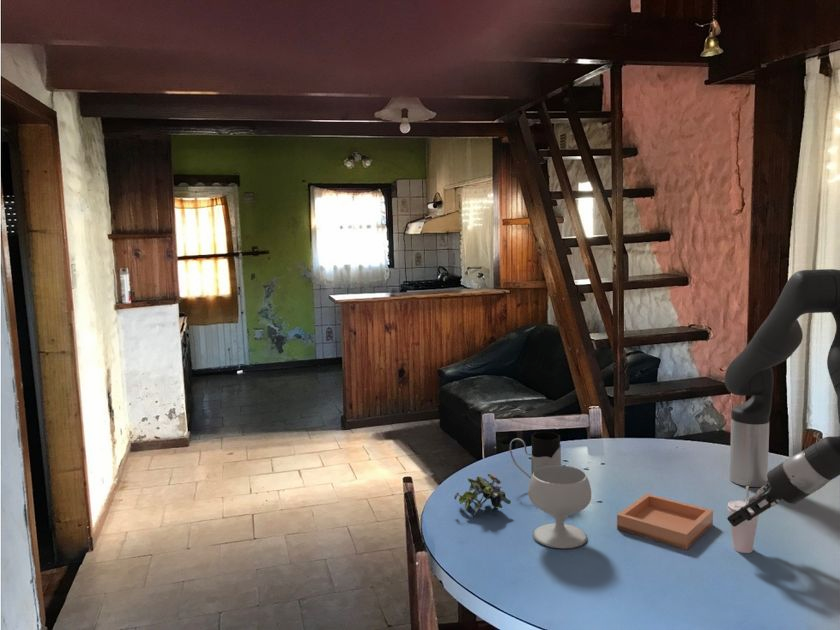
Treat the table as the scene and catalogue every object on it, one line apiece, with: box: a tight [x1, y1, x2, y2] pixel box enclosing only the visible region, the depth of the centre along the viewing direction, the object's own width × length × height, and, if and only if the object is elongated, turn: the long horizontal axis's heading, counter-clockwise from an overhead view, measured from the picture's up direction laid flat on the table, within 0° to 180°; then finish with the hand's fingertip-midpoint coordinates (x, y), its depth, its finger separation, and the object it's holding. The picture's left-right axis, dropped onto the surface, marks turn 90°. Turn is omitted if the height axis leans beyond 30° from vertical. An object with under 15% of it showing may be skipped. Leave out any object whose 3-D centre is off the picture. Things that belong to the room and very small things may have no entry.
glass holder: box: [509, 431, 562, 480], centre depth 176 cm, size 9×14×15 cm, turn 71°
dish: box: [616, 493, 714, 551], centre depth 151 cm, size 16×16×4 cm
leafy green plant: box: [453, 473, 511, 518], centre depth 162 cm, size 11×11×12 cm
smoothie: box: [726, 486, 761, 554], centre depth 139 cm, size 6×6×14 cm
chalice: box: [527, 464, 592, 549], centre depth 147 cm, size 14×14×15 cm
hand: (737, 515), depth 140 cm, fingers open, 8 cm apart
